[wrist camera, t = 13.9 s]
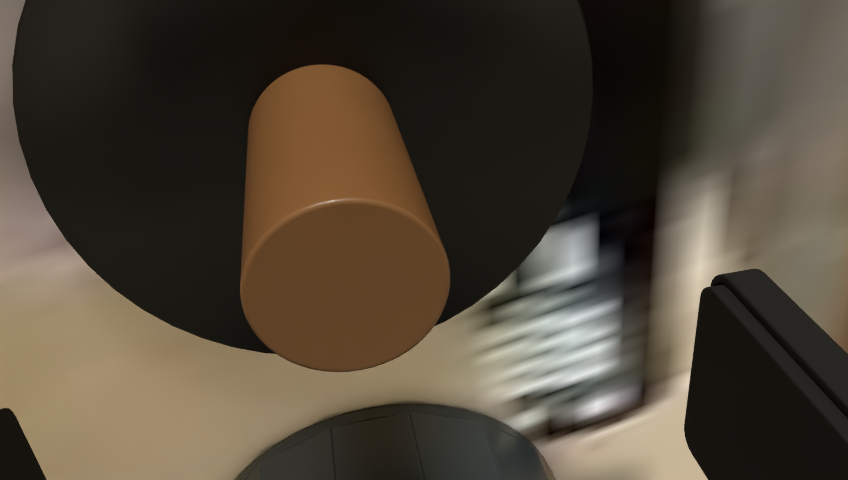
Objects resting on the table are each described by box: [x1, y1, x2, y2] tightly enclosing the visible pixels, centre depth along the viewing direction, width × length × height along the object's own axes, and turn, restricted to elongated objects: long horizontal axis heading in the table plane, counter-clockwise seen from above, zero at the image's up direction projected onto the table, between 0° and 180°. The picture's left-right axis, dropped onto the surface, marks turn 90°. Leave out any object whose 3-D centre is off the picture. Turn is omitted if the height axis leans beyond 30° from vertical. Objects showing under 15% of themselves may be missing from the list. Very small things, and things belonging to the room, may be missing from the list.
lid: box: [12, 0, 593, 372], centre depth 15 cm, size 13×13×8 cm
